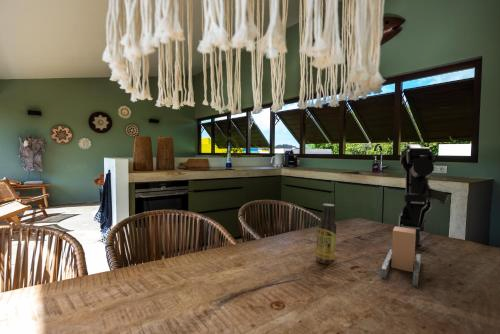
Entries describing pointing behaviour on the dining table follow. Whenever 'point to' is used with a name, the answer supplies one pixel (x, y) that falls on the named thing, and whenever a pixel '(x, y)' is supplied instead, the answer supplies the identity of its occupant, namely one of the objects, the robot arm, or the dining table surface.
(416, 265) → the chute
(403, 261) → the terracotta block
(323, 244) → the sauce bottle
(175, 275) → the dining table surface
